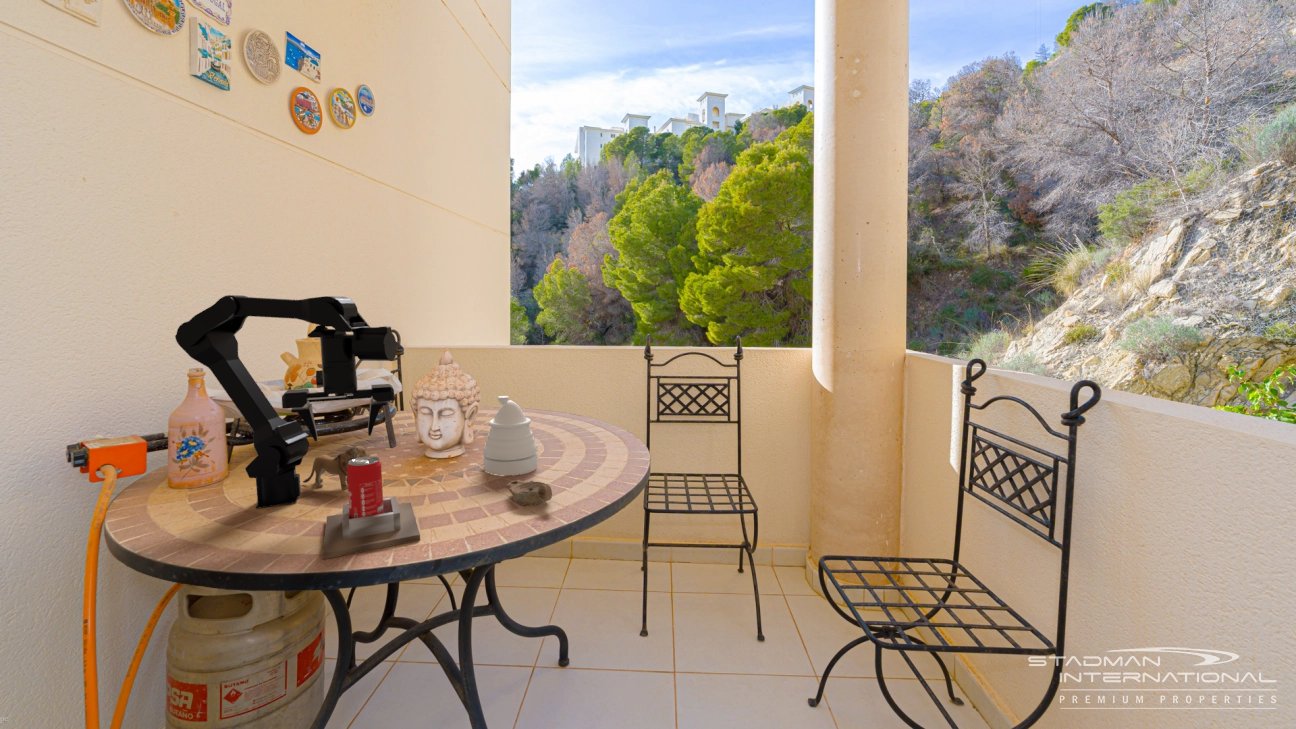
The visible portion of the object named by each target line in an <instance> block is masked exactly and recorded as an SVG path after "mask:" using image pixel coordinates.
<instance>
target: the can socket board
mask: <svg viewBox="0 0 1296 729" xmlns="http://www.w3.org/2000/svg"><path fill="white" fill-rule="evenodd" d="M383 511H384V514H378V515H372V516H366V517H360V518H354V519H350V515H349V503H347V504H342V512H341V513H340V514H334V515H332V514H331V515H327V516H326V521H325V529H324V530H325V531H324V538H323V539H324V540H323V548H322V560H328V559H333V558H338V557H342V556H343V557H344V556H347V555H353V554H356V553H357V554H358V553H362V552H367V551H372V550H379V549H382V548H386V547H387V548H389V547H392V546H398V545H403V544H409V543H412V542H418V541H421V534H420V530H419V527H418V523H417V520H416V515H415V513H414V509H413V505H412V502H407V503H401V504H399V503H398V499H397V496H391V497H385V498H384V497H383Z"/></svg>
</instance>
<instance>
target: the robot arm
mask: <svg viewBox="0 0 1296 729" xmlns="http://www.w3.org/2000/svg"><path fill="white" fill-rule="evenodd" d="M248 317H258V318H276V319H277V318H279V319H294V320H295V319H296V320H299V321H304V322H307V323H310V324H313V325H316V326H315V328H314V329H313V330H311V332H309V333H307V337H308V338H310V339H311V338H314V339H316V338H317V339H320V340H319V341H320V351H321V352H320V355H321V356H320V357H321V370H316V371H315V384H316V387H317V388H323V389H322V390H323V391H318V392H317V391H316V392H314V391H313V392H310V389H309V388H298V389H297V388H295V389H287V390H286V391H285V392H284V393H283V394H282V395H281V407H282V408H281V409H283V410H284V409H285V410H286V409H290V411H291V413H294V414H295V413H297V414H298V415H299V417H300V418H301V420H302V421H303V422H304V424H305V425H306V428H307V429H308V431H309V433H310V435H311V437H312V439H313V441H314V442H318V431H317V425H316V421H315V420H316V419H315V416H314V411H313V404H312V403H317V402H318V403H319V402H330V401H333V402H334V401H346V400H347V401H348V400H360V399H361V400H362V399H369V400H370V402H369V411H368V413H369V414H368V421H367V422H368V424H367V434H368V436H369V437H370V436H371V435H372V433H373V429H374V427H375V423H376V420H377V418H378V415H379V413H380V411H381V409H382V407H384V406H388V402H393V401H395V388H394V387H393V386H392V384H390V383H383V384H382V383H380V384H371V388H364V389H363V388H362V389H358V376H357V364H356V363H357V362H356V360H357V359H358V360H359V361H363V362H364V361H368V362H369V361H370V362H374V361H375V362H384V361H386V362H392V361H394V360H395V359H396V356H397V354H398V342H397V341H396V337H395V335H394V333H393V332H392V327H391V326H388V325H387V326H385V325H384V326H378V327H377V326H375V327H374V326H370V325H369V323H368V322H367V321H366V320H365V318H363V316H362V315H361V314H360V312H359V311H358V307H357V304H356V303H355V302H354V301H353V299H352V298H349V297H347V296H331V295H330V296H316V297H307V298H303V299H288V298H287V299H286V298H285V299H284V298H273V297H272V298H269V297H267V298H266V297H253V296H246V295H234V294H232V295H229V294H228V295H224V296H222V297H221V298H219V299H218V300H217V301H216V302H215V303H213V305H210V306H209V307H207V308H205V309H203V310H202V311H201V312H199V313H197V314H195V315H194V316H193V317H191V319H189V320H188V321H185V322H183V323H181V324H180V325H179V326H178V327H177V330H176V334H175V335H174V337H175V340H176V343H177V345H178V346H179V347H180V348H182V350H183V351H184V352H185V353H186V354H187V355H188V356H189V357H190V358H191V359H193V360H195V361H196V362H198V363H200V364H201V365H204V366H205V367H206V368H208V369H209V370H210V372H211V373H212V374H213V376H214V378H216V380H217V381H218V383H219V385H221V387H222V388H223V390H224V392H225V393H226V394H227V395H228V397H229V398H230V399H231V401H232V404H234V405H235V407H236V409H237V410H238V412H239V413H240V415H242V417H243V419H245V421H246V422H247V425H248V426H249V427H250V428H251V430H252V432H253V435H252V436H253V448H254V449H255V452H256V454H257V456H256V457H255V458H254V459H253V460H252V461H251V462H249V464H248V465H247V466H246V467H245V468H244V469H245V471H246V474H247V476H248V478H250V479H255V486H256V498H257V502H256V505H255V508H256V509H262V508H269V507H273V506H275V507H276V506H282V505H288V504H289V505H291V504H294V503H297V501H298V498H299V497H300V496H301V493H302V492H301V490H302V489H301V477H300V473H297V470H296V469H297V466H300V465H301V464H302V462H303V458H304V457H305V456H306V455H307V454H308V451H309V447H310V442H309V440H308V438H309V437H310V436H309V434H308V433H307V432H305V431H304V429H303V428H302V426H301V424H300V422H299V421H298V420H296V419H295V420H293V421H289V422H288V421H287V420H285V419H283V418H282V417H281V416H280V415H279V413H277V411H276V410H275V407H273V405H272V403H271V401H270V400H268V397H266V395H265V393H264V392H263V391H262V389H261V387H260V386H259V385H258V384H257V381H255V379H254V378H253V376H252V375H251V373H250V371H248V369H247V368H246V366H245V364H244V363H243V362H242V360H241V359H240V357H239V342H238V339H237V337H236V334H237V333H238V332H239V331H240V330H241V329H242V328H243V327H244V324H245V322H246V320H247V318H248ZM328 327H332V328H328ZM349 333H351V334H349ZM356 358H357V359H356Z"/></svg>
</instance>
